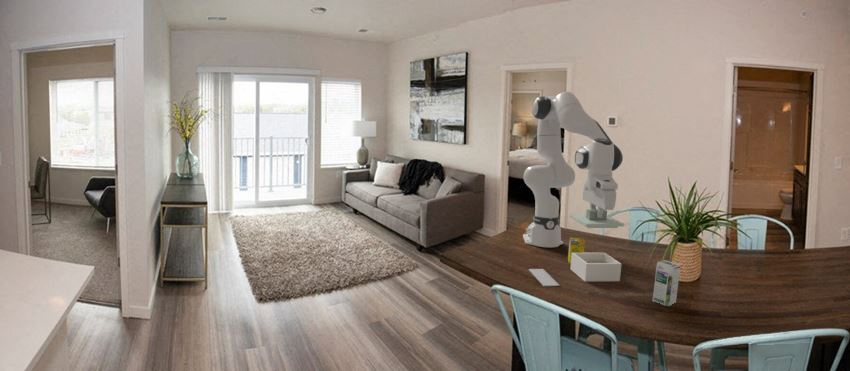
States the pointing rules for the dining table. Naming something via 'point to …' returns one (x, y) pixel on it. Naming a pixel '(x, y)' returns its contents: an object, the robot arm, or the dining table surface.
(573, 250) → the supplement box
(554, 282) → the rubber mat
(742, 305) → the dining table surface
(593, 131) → the robot arm
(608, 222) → the lid
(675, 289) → the syrup box
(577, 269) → the storage box
